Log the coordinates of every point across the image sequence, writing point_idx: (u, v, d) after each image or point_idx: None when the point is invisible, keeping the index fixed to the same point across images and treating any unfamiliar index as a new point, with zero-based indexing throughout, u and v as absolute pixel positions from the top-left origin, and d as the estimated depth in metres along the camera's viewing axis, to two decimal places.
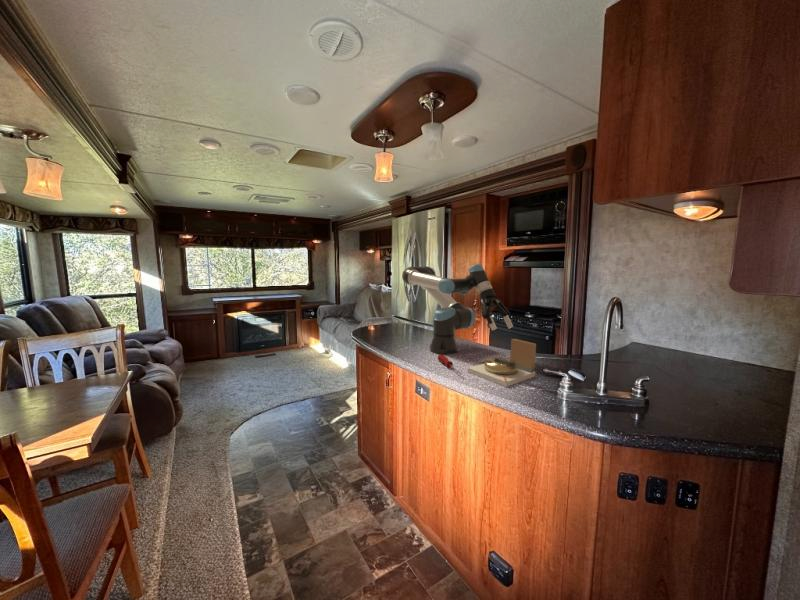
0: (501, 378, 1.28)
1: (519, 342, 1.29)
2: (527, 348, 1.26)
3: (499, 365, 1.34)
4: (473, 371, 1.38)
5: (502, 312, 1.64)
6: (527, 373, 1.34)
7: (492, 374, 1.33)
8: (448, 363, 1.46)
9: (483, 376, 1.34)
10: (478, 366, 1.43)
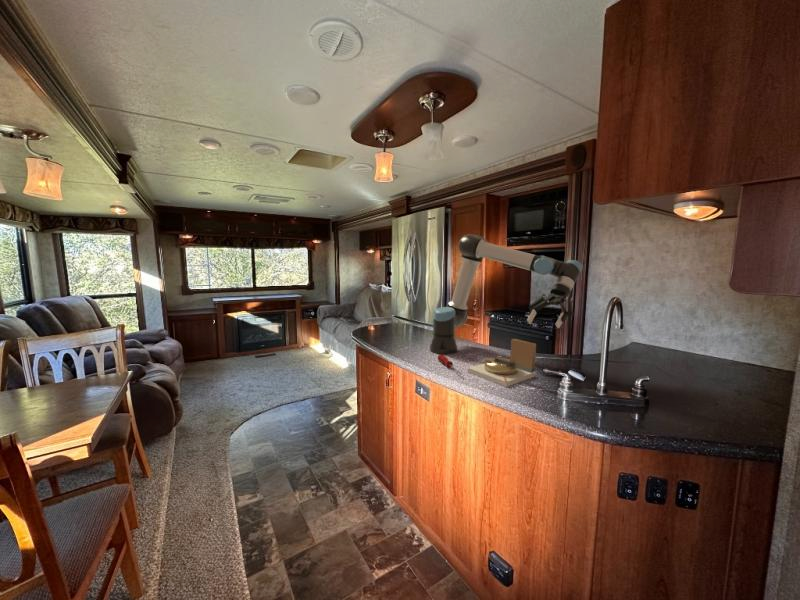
0: (501, 378, 1.28)
1: (519, 342, 1.29)
2: (527, 348, 1.26)
3: (499, 365, 1.34)
4: (473, 371, 1.38)
5: (539, 307, 1.47)
6: (527, 373, 1.34)
7: (492, 374, 1.33)
8: (448, 363, 1.46)
9: (483, 376, 1.34)
10: (478, 366, 1.43)
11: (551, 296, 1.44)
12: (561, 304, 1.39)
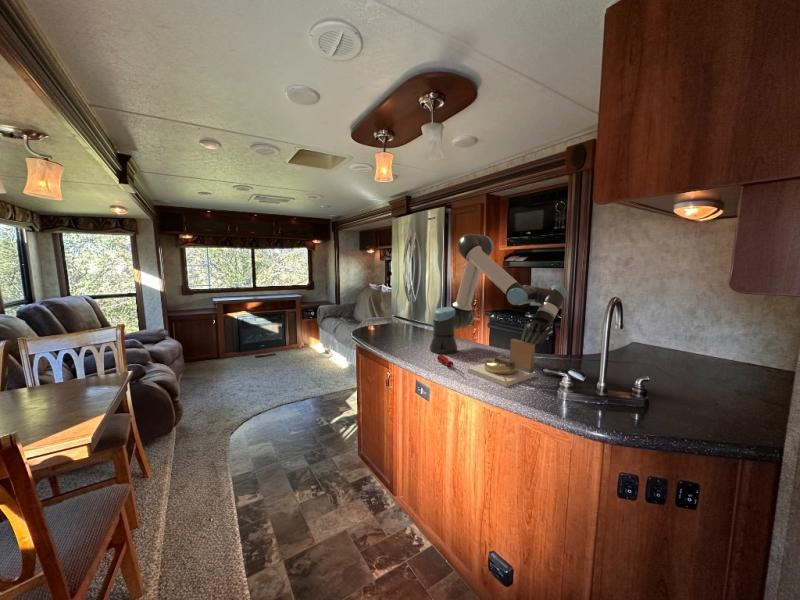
0: (501, 378, 1.28)
1: (518, 342, 1.29)
2: (526, 348, 1.26)
3: (498, 365, 1.34)
4: (473, 371, 1.38)
5: (530, 339, 1.35)
6: (527, 373, 1.34)
7: (492, 374, 1.33)
8: (449, 363, 1.46)
9: (483, 376, 1.34)
10: (478, 366, 1.43)
11: (534, 324, 1.37)
12: (535, 334, 1.34)
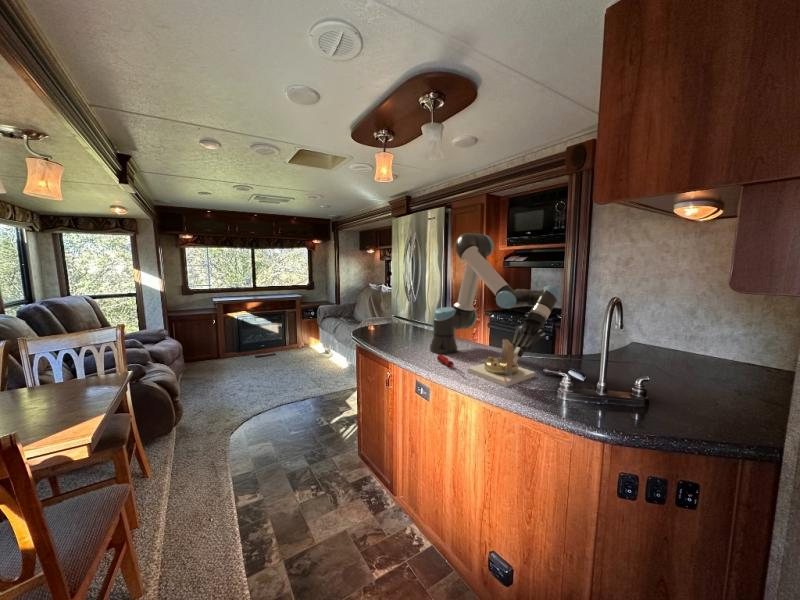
0: (501, 378, 1.28)
1: (504, 342, 1.28)
2: (506, 349, 1.24)
3: None
4: (473, 371, 1.38)
5: (521, 342, 1.32)
6: (527, 373, 1.34)
7: (492, 374, 1.33)
8: (449, 363, 1.46)
9: (483, 376, 1.34)
10: (478, 366, 1.43)
11: (526, 326, 1.34)
12: (527, 336, 1.31)
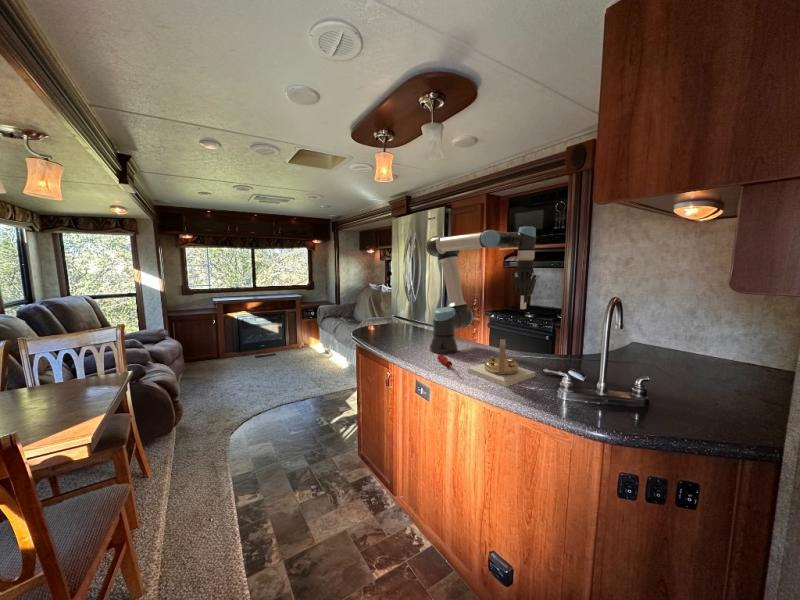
0: (501, 378, 1.28)
1: (500, 342, 1.28)
2: None
3: None
4: (473, 371, 1.38)
5: (523, 288, 1.53)
6: (527, 373, 1.34)
7: (492, 374, 1.33)
8: (447, 363, 1.46)
9: (483, 376, 1.34)
10: (478, 366, 1.43)
11: (520, 274, 1.51)
12: (525, 284, 1.50)
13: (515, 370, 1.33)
